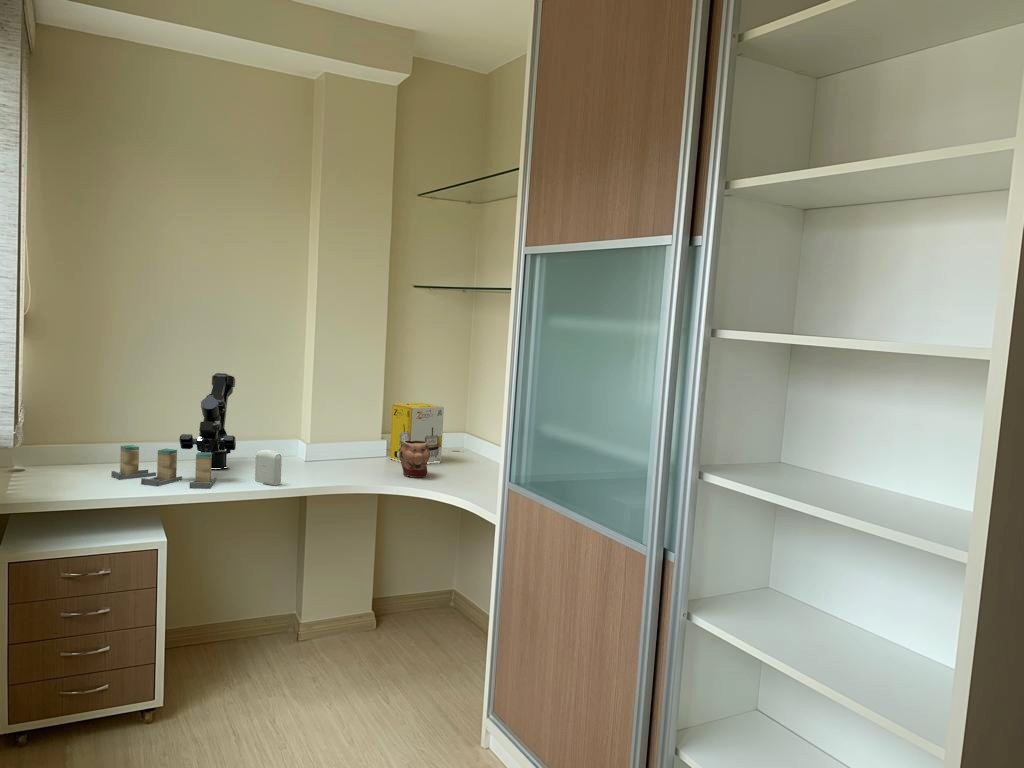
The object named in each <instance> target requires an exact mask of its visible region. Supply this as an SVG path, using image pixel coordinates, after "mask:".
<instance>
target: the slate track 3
mask: <svg viewBox="0 0 1024 768" xmlns="http://www.w3.org/2000/svg"><path fill="white" fill-rule="evenodd" d="M216 481H217V477H213V478H212V479H211V482H195V478H194V479H193V481H189V489H197V490H199V489H202V490H203V489H204V490H210V489H212V487H213V486H214V484H215V483H216Z"/></svg>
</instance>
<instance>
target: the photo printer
mask: <svg viewBox="0 0 1024 768" xmlns="http://www.w3.org/2000/svg"><path fill="white" fill-rule="evenodd" d="M282 461H283V460H282V455H281V454H280V453H279V452H277V451H275V450H273V449H261V450H259V451H257V453H256V454H255V462H254V463H255V465H254V466H255V467H254V468H255V469H254V470H255V471H254V472H255V473H254V480H255V482H256V483H262V484H265V485H270V486H280V484H282Z"/></svg>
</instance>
